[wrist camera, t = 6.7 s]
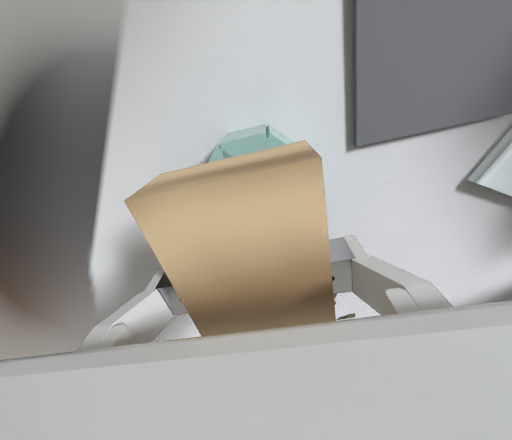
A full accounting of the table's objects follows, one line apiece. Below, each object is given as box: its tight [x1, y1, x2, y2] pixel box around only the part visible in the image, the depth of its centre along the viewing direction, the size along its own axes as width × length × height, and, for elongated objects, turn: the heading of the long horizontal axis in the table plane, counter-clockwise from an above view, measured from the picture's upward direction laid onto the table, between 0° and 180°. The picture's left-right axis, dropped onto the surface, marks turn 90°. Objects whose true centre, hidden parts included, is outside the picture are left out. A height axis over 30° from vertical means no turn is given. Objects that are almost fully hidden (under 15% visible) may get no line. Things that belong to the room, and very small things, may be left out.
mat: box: [353, 0, 512, 147], centre depth 15 cm, size 14×12×1 cm
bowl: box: [208, 125, 294, 163], centre depth 19 cm, size 9×9×4 cm
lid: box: [124, 140, 336, 336], centre depth 10 cm, size 10×6×3 cm, turn 13°
